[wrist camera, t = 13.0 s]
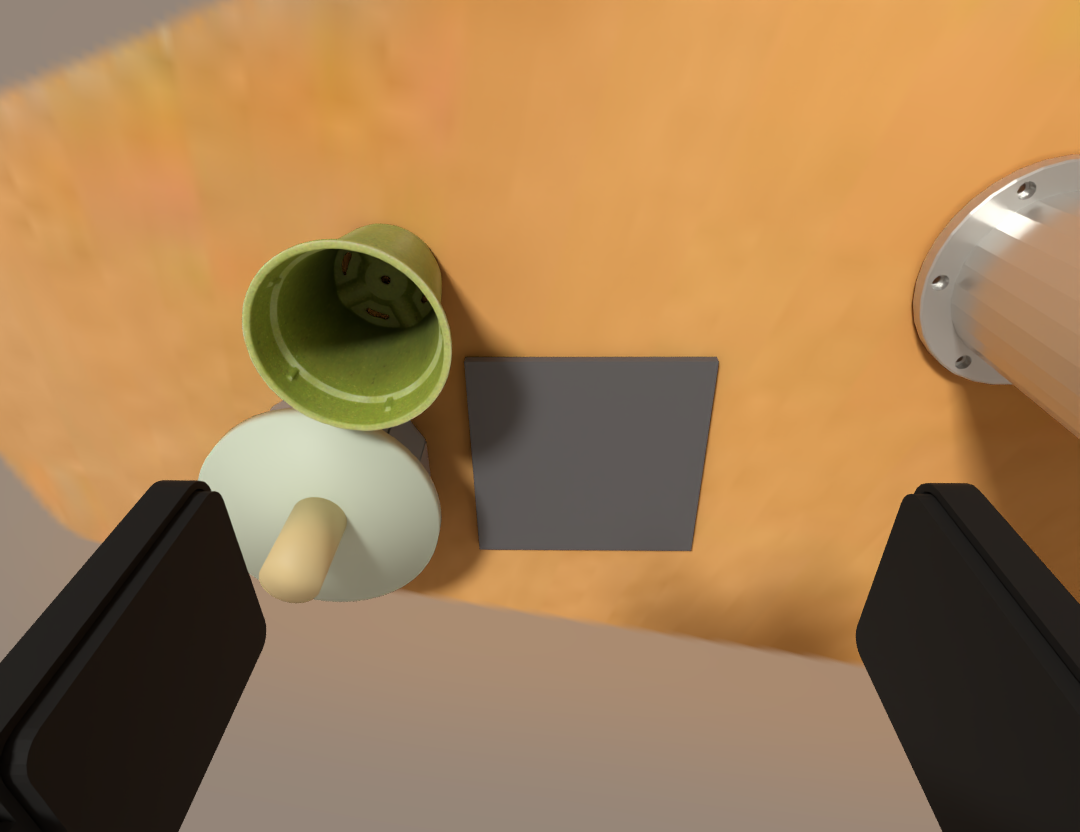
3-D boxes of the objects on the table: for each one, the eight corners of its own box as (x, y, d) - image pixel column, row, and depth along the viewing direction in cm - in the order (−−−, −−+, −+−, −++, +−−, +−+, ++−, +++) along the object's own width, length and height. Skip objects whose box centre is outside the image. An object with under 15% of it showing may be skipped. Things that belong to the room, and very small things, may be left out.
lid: (428, 407, 35) (406, 474, 30) (451, 590, 43) (436, 669, 38) (173, 407, 36) (109, 474, 31) (239, 589, 43) (197, 667, 38)
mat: (716, 357, 39) (718, 361, 38) (689, 544, 47) (690, 550, 46) (465, 357, 39) (464, 361, 39) (480, 543, 47) (479, 549, 47)
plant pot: (493, 225, 35) (476, 283, 28) (448, 371, 40) (423, 454, 32) (319, 165, 34) (253, 208, 26) (294, 324, 38) (232, 398, 31)
